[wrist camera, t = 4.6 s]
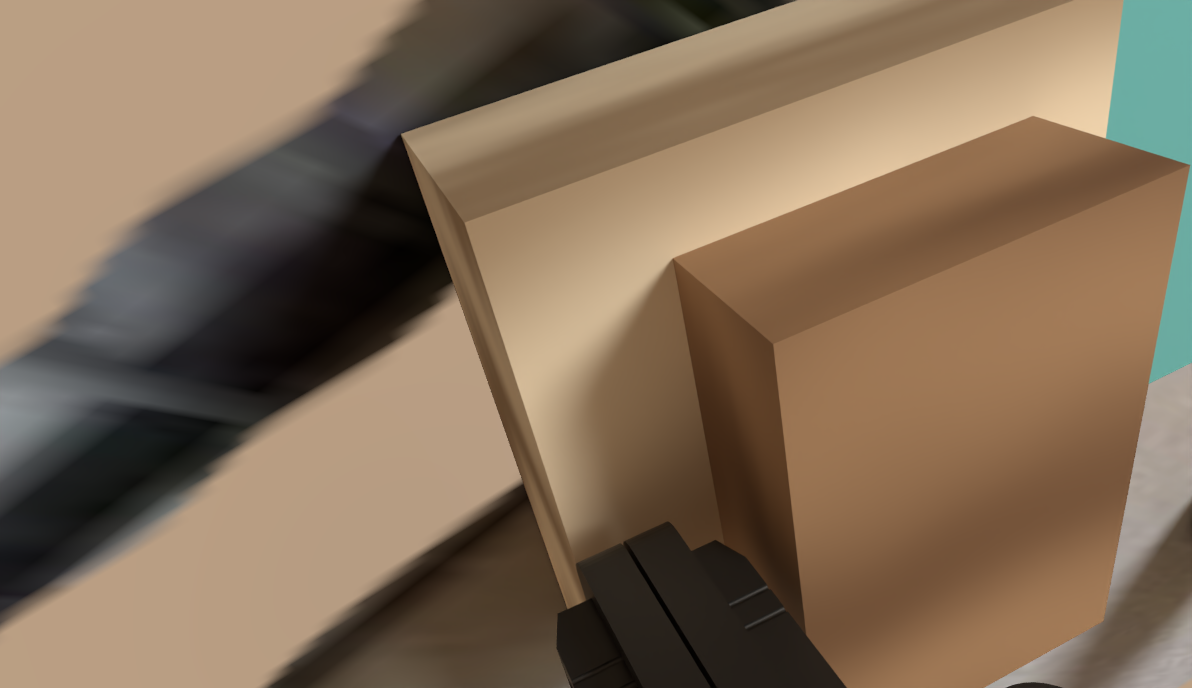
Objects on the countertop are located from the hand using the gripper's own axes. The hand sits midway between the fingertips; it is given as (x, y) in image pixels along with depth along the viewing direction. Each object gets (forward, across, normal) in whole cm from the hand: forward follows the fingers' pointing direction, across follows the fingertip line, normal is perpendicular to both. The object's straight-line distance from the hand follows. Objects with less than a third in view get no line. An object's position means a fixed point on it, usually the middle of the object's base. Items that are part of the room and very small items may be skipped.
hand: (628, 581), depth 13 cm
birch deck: (+5, -4, 0) cm, 7 cm away
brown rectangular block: (0, -5, 0) cm, 5 cm away
